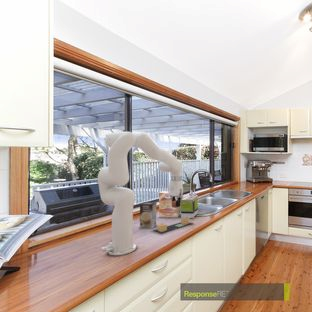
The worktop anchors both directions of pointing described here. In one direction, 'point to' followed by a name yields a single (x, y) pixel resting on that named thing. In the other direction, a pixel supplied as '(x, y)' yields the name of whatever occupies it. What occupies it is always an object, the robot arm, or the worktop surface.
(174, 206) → the letter S
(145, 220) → the coffee box
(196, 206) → the tea box
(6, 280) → the worktop surface
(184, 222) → the word mat
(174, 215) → the coffeecake box
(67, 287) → the worktop surface
